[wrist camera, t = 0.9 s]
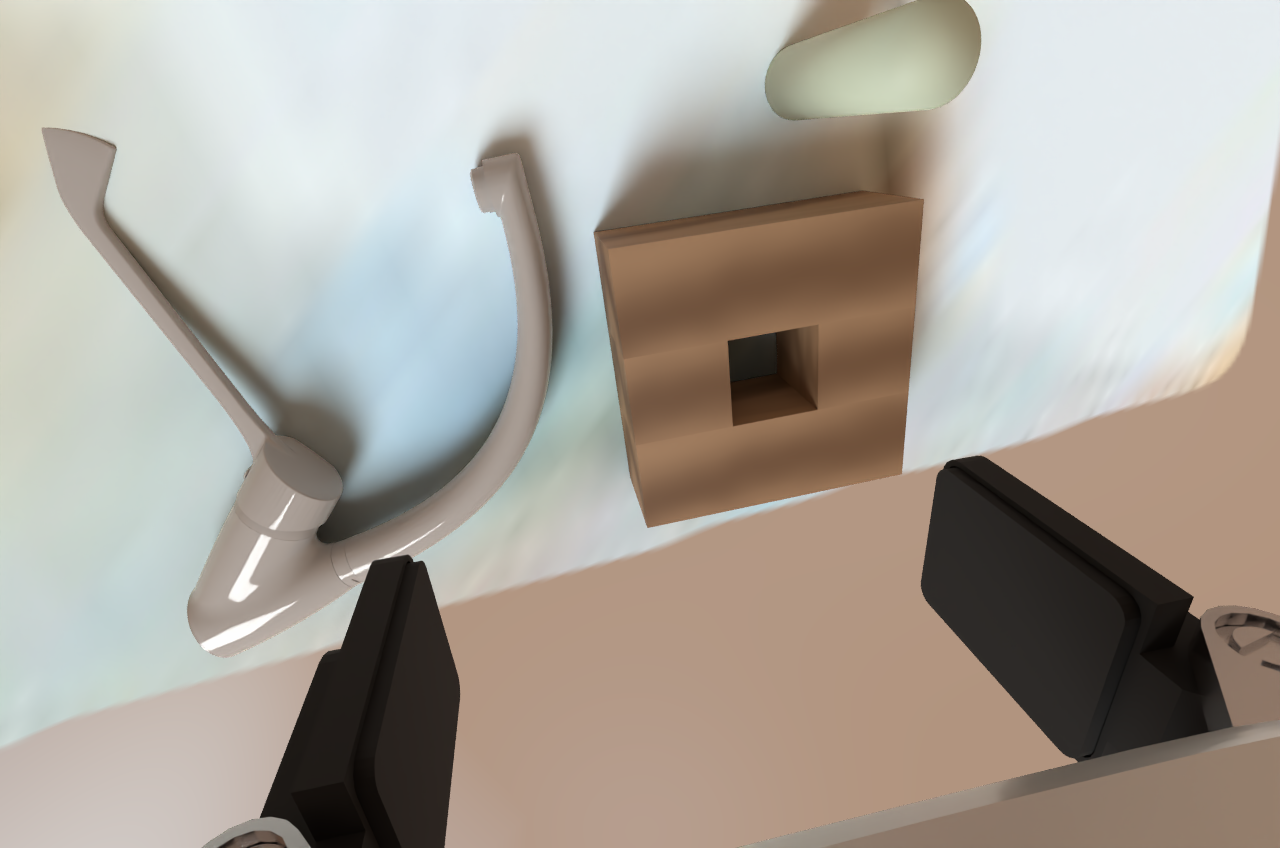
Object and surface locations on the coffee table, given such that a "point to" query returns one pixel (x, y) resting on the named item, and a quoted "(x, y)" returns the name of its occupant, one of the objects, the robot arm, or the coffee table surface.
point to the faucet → (293, 473)
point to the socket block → (805, 339)
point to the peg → (879, 64)
